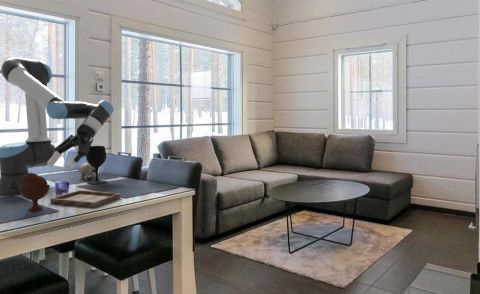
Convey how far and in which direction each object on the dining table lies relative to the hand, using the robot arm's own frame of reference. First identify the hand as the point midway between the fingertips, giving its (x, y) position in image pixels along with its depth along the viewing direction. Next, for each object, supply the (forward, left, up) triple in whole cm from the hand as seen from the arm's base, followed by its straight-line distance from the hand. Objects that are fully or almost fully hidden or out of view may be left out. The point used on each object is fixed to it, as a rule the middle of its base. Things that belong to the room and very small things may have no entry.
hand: (58, 166), depth 157 cm
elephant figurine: (-30, +56, -17) cm, 66 cm away
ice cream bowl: (-3, -10, -17) cm, 20 cm away
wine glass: (-16, +45, -17) cm, 51 cm away
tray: (+6, +9, -16) cm, 20 cm away
